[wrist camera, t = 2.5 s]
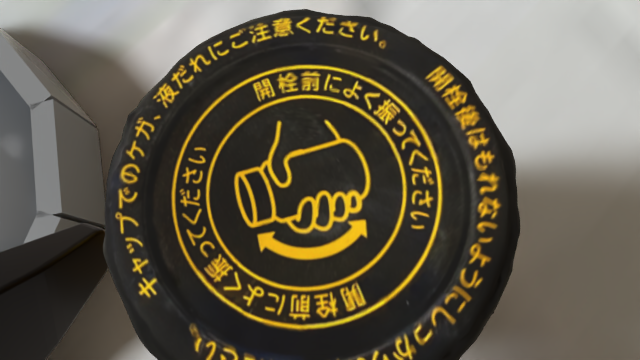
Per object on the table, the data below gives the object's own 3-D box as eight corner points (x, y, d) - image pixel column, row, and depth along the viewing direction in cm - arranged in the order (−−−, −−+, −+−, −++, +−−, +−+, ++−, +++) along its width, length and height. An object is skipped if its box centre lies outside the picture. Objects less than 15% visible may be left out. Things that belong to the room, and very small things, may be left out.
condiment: (312, 138, 18) (261, -136, 7) (499, 268, 17) (863, 208, 5) (194, 291, 17) (-124, 285, 5) (384, 446, 15) (517, 903, 4)
